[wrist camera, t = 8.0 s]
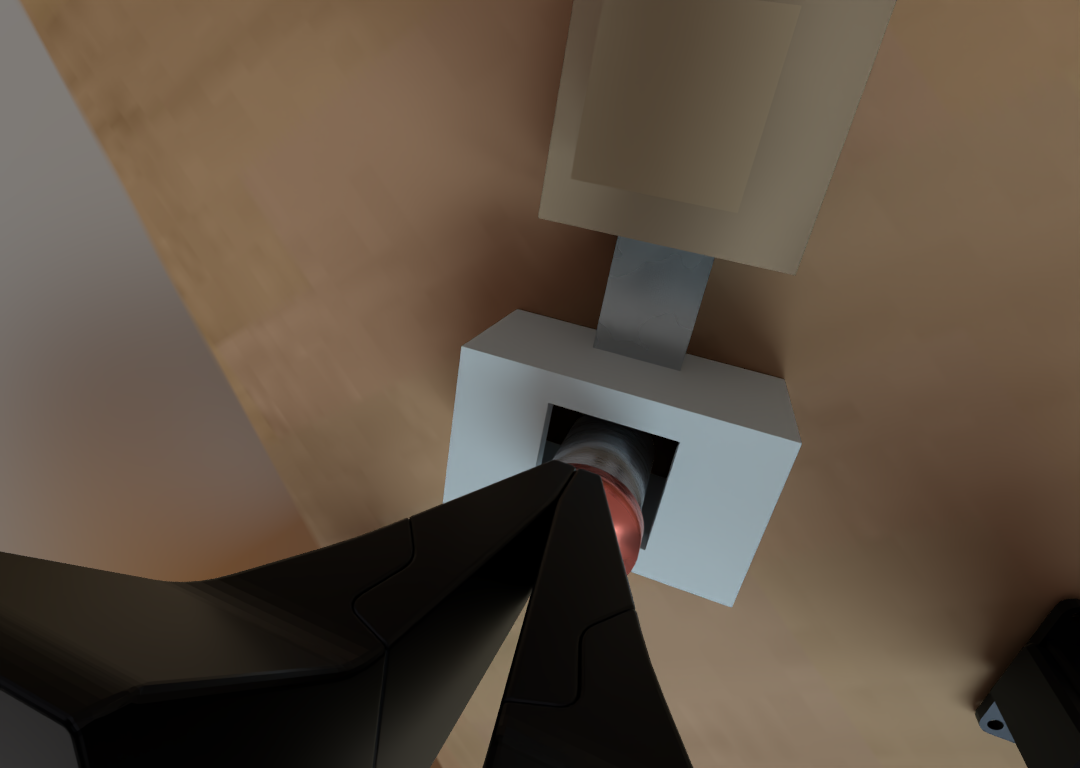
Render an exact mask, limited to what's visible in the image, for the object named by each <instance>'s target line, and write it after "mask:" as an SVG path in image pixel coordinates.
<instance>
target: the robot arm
mask: <svg viewBox="0 0 1080 768" xmlns="http://www.w3.org/2000/svg"><path fill="white" fill-rule="evenodd" d="M530 595H531V596H530ZM529 596H530V599H529V603H528V606H527V610H526V614H525V617H524V621H523V625H522V628H521V632H520V636H519V639H518V643H517V646H516V650H515V654H514V657H513V661H512V665H511V668H510V672H509V675H508V679H507V683H506V686H505V690H504V694H503V697H502V701H501V705H500V709H499V712H498V715H497V719H496V723H495V726H494V730H493V733H492V737H491V740H490V744H489V748H488V751H487V754H486V758H485V761H484V764H483V768H693V766H692V764H691V761H690V759H689V756H688V754H687V752H686V749H685V747H684V744H683V742H682V739H681V737H680V735H679V732H678V730H677V727H676V725H675V722H674V720H673V718H672V715H671V713H670V710H669V708H668V705H667V703H666V701H665V698H664V695H663V693H662V690H661V688H660V685H659V682H658V680H657V677H656V674H655V672H654V669H653V667H652V664H651V661H650V658H649V654H648V651H647V648H646V644H645V641H644V638H643V635H642V631H641V627H640V623H639V619H638V616H637V612H636V611H635V605H634V601H633V597H632V593H631V590H630V586H629V582H628V578H627V574H626V570H625V566H624V563H623V559H622V555H621V551H620V547H619V543H618V539H617V536H616V532H615V528H614V524H613V520H612V516H611V512H610V509H609V505H608V501H607V497H606V493H605V489H604V485H603V482H602V478H601V476H600V475H598V474H595V473H592V472H590V471H587V470H584V469H578V470H576V468H575V467H574V466H573V465H570V464H567V463H564V462H561V461H559V460H551V461H548V462H546V463H543V464H541V465H538V466H536V467H533V468H531V469H528V470H526V471H523V472H521V473H518V474H516V475H513V476H511V477H508V478H506V479H503V480H501V481H498V482H496V483H493V484H491V485H488V486H486V487H483V488H481V489H478V490H476V491H473V492H471V493H468V494H466V495H463V496H461V497H458V498H456V499H453V500H451V501H448V502H446V503H443V504H441V505H438V506H436V507H433V508H431V509H428V510H426V511H423V512H421V513H418V514H416V515H413V516H411V517H410V519H408V518H405V519H403V520H400V521H398V522H395V523H393V524H390V525H388V526H385V527H383V528H380V529H377V530H374V531H372V532H369V533H366V534H364V535H361V536H358V537H355V538H352V539H349V540H346V541H343V542H339V543H336V544H333V545H330V546H327V547H324V548H320V549H317V550H313V551H310V552H307V553H303V554H300V555H296V556H293V557H290V558H287V559H283V560H279V561H276V562H272V563H269V564H266V565H262V566H259V567H256V568H252V569H248V570H245V571H242V572H238V573H235V574H231V575H227V576H223V577H220V578H215V579H210V580H203V581H193V582H167V581H160V580H153V579H147V578H142V577H136V576H131V575H126V574H120V573H115V572H109V571H104V570H98V569H93V568H87V567H81V566H76V565H70V564H66V563H60V562H54V561H49V560H44V559H38V558H33V557H27V556H21V555H16V554H11V553H5V552H0V768H430V767H431V765H432V763H433V761H434V760H435V758H436V757H437V755H438V753H439V751H440V750H441V748H442V746H443V745H444V743H445V741H446V739H447V738H448V736H449V734H450V733H451V731H452V729H453V727H454V726H455V724H456V722H457V721H458V719H459V717H460V715H461V714H462V712H463V710H464V709H465V707H466V705H467V703H468V702H469V700H470V698H471V697H472V695H473V693H474V691H475V690H476V688H477V686H478V685H479V683H480V681H481V679H482V678H483V676H484V674H485V673H486V671H487V669H488V667H489V666H490V664H491V662H492V661H493V659H494V657H495V655H496V654H497V652H498V650H499V649H500V647H501V645H502V643H503V642H504V640H505V638H506V637H507V635H508V633H509V631H510V630H511V628H512V626H513V625H514V623H515V621H516V619H517V618H518V616H519V614H520V613H521V611H522V609H523V607H524V606H525V604H526V602H527V600H528V598H529ZM1076 613H1080V600H1079V599H1066V600H1063V601H1061V602H1059V603H1058V604H1057V605H1056V606H1055V607H1054V609H1053V610H1052V611H1051V613H1050V614H1049V615H1048V617H1047V618H1046V619H1045V621H1044V622H1043V623H1042V624H1041V626H1040V627H1039V628H1038V630H1037V631H1036V632H1035V634H1034V635H1033V636H1032V638H1031V639H1030V640H1029V642H1028V643H1027V644H1026V646H1025V647H1023V649H1022V650H1021V651H1020V652H1019V654H1018V655H1017V656H1016V658H1015V659H1014V660H1013V662H1012V663H1011V664H1010V666H1009V667H1008V668H1007V670H1006V671H1005V672H1004V674H1003V675H1002V676H1001V678H1000V679H999V680H998V681H997V683H996V684H995V685H994V687H993V688H992V689H991V692H990V693H989V694H988V696H987V697H986V698H985V699H984V701H983V702H982V703H981V705H980V706H979V707H978V709H977V710H976V712H975V716H976V719H977V721H978V723H979V726H980V727H981V729H982V730H983V731H985V732H987V733H989V734H992V735H994V736H997V737H1000V738H1002V739H1005V740H1008V741H1011V742H1013V743H1016V745H1017V747H1018V749H1019V751H1020V753H1021V755H1022V757H1023V759H1024V761H1025V763H1026V765H1027V767H1028V768H1080V615H1079V616H1075V617H1071V616H1072V615H1073V614H1076ZM991 720H993V721H991Z"/></svg>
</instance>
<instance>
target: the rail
mask: <svg viewBox="0 0 1080 768" xmlns="http://www.w3.org/2000/svg"><path fill="white" fill-rule="evenodd" d="M714 258H715V257H710V256H706V255H701V254H697V253H693V252H688V251H684V250H679V249H675V248H670V247H666V246H661V245H657V244H652V243H648V242H643V241H639V240H634V239H630V238H625V237H621V236H618V238H617V242H616V247H615V251H614V256H613V260H612V264H611V269H610V273H609V278H608V282H607V287H606V291H605V295H604V300H603V304H602V309H601V313H600V318H599V322H598V327H597V331H596V335H595V340H594V344H593V348H596V349H600V350H604V351H608V352H611V353H615V354H619V355H622V356H626V357H630V358H633V359H637V360H641V361H644V362H648V363H652V364H655V365H659V366H663V367H667V368H670V369H674V370H678V371H680V370H681V367H682V364H683V360H684V357H685V354H686V351H687V347H688V344H689V341H690V337H691V334H692V331H693V327H694V324H695V321H696V317H697V314H698V311H699V308H700V304H701V301H702V298H703V294H704V291H705V288H706V284H707V281H708V278H709V274H710V271H711V268H712V265H713V261H714Z"/></svg>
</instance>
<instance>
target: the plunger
mask: <svg viewBox="0 0 1080 768" xmlns="http://www.w3.org/2000/svg"><path fill="white" fill-rule="evenodd" d="M654 457H655V447H654V442H653V439H652V437H651V435H650V433H648V432H644V431H641V430H638V429H634V428H631V427H628V426H624V425H621V424H618V423H614V422H611V421H608V420H604V419H601V418H598V417H594V416H591V415H588V414H584V415H582V416H581V417H580V418H578V419H577V421H576V422H575V423H574V424H573V426H572V427H571V429H570V431H569V432H568V434H567V436H566V437H565V439H564V441H563V442H562V444H561V446H560V447H559V449H558V451H557V452H556V454H555V456H554V457H553V459H552V460H559V461H561V462H564V463H567V464H570V465H573V466H574V467H575V468H576V470H578V469H584V470H587V471H590V472H592V473H595V474H598V475H600V476H601V478H602V482H603V485H604V489H605V493H606V497H607V501H608V505H609V509H610V512H611V516H612V520H613V524H614V528H615V532H616V536H617V539H618V543H619V547H620V551H621V555H622V559H623V563H624V566H625V570H626V574H627V575H628V574H629V573H630V572H631V570H632V569H633V567H634V565H635V563H636V561H637V559H638V554H639V550H640V546H641V541H642V537H643V532H644V522H643V516H642V512H641V510H642V506H643V502H644V498H645V494H646V490H647V486H648V482H649V478H650V474H651V470H652V466H653V462H654Z"/></svg>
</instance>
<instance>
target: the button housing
mask: <svg viewBox="0 0 1080 768" xmlns="http://www.w3.org/2000/svg"><path fill="white" fill-rule="evenodd" d="M596 331H597V330H595V329H591V328H588V327H584V326H580V325H576V324H572V323H569V322H565V321H561V320H557V319H554V318H550V317H546V316H542V315H538V314H535V313H531V312H527V311H523V310H519V309H516V310H515V311H513V312H512V313H510V314H509V315H507V316H506V317H504V318H503V319H501V320H500V321H498V322H497V323H495V324H494V325H492V326H491V327H489V328H488V329H486V330H485V331H483V332H482V333H480V334H479V335H478V336H476V337H475V338H473V339H472V340H470V341H469V342H467V343H466V344H464V345H463V346H461V355H460V363H459V372H458V380H457V388H456V397H455V405H454V414H453V422H452V430H451V439H450V447H449V456H448V464H447V472H446V481H445V489H444V498H443V503H446V502H448V501H451V500H453V499H456V498H458V497H461V496H463V495H466V494H468V493H471V492H473V491H476V490H478V489H481V488H483V487H486V486H488V485H491V484H493V483H496V482H498V481H501V480H503V479H506V478H508V477H511V476H513V475H516V474H518V473H521V472H523V471H526V470H528V469H531V468H533V467H536V466H538V465H541V464H543V463H546V462H548V461H551V460H552V459H553V457H554V456H555V454H556V452H557V451H558V449H559V447H560V446H561V445H559V444H556V443H553V442H550V441H547V440H546V438H547V433H548V428H549V423H550V418H551V413H552V408H553V404H554V405H558V406H561V407H564V408H568V409H571V410H574V411H578V412H581V413H584V414H588V415H591V416H594V417H598V418H601V419H604V420H608V421H611V422H614V423H618V424H621V425H624V426H628V427H631V428H634V429H638V430H641V431H644V432H648V433H651V434H655V435H658V436H661V437H665V438H668V439H671V440H675V441H678V445H677V448H676V451H675V454H674V457H673V460H672V463H671V466H670V470H669V473H668V476H667V478H664V477H661V476H658V475H655V474H650V478H649V482H648V486H647V490H646V494H645V498H644V502H643V506H642V510H641V512H642V516H643V522H644V532H643V537H642V541H641V546H640V550H639V554H638V559H637V561H636V563H635V565H634V567H633V569H632V570H631V572H633V573H636V574H639V575H642V576H645V577H647V578H650V579H653V580H656V581H659V582H661V583H664V584H667V585H670V586H673V587H675V588H678V589H681V590H684V591H687V592H689V593H692V594H695V595H698V596H701V597H703V598H706V599H709V600H712V601H715V602H717V603H720V604H723V605H726V606H729V607H731V608H732V606H733V603H734V601H735V599H736V596H737V594H738V592H739V589H740V587H741V585H742V582H743V580H744V578H745V575H746V573H747V571H748V568H749V566H750V564H751V561H752V559H753V557H754V554H755V552H756V550H757V547H758V545H759V543H760V540H761V538H762V536H763V533H764V531H765V529H766V526H767V524H768V522H769V519H770V517H771V515H772V512H773V510H774V508H775V505H776V503H777V501H778V498H779V496H780V494H781V491H782V489H783V487H784V484H785V482H786V480H787V477H788V475H789V473H790V470H791V468H792V466H793V463H794V461H795V459H796V456H797V454H798V452H799V449H800V447H801V445H802V442H801V438H800V434H799V431H798V427H797V423H796V420H795V416H794V412H793V409H792V405H791V401H790V397H789V394H788V390H787V386H786V383H785V379H781V378H777V377H774V376H770V375H766V374H762V373H758V372H755V371H751V370H747V369H743V368H739V367H736V366H732V365H728V364H724V363H720V362H717V361H713V360H709V359H705V358H701V357H698V356H694V355H690V354H685V357H684V360H683V364H682V367H681V370H680V371H678V370H674V369H670V368H667V367H663V366H659V365H655V364H652V363H648V362H644V361H641V360H637V359H633V358H630V357H626V356H622V355H619V354H615V353H611V352H608V351H604V350H600V349H596V348H593V344H594V340H595V335H596Z"/></svg>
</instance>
